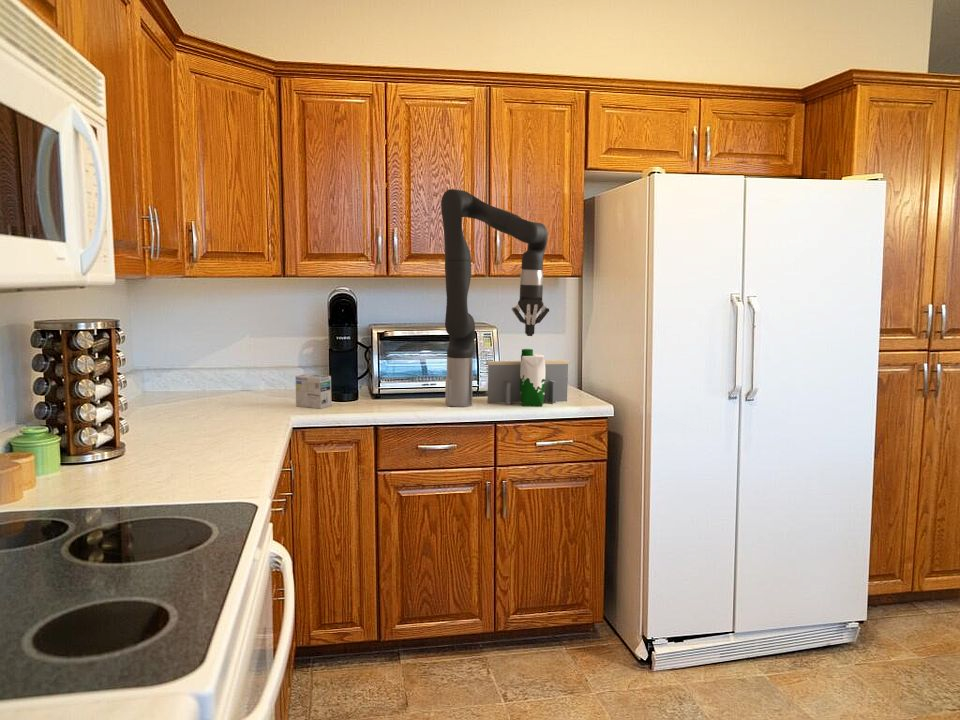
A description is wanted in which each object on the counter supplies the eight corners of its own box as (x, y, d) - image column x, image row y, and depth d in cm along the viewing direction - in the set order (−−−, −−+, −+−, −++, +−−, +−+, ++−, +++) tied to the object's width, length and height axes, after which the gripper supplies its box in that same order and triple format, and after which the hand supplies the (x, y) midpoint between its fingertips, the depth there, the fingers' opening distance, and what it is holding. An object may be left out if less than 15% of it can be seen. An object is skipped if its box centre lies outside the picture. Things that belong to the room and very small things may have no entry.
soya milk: (519, 402, 268) (520, 348, 266) (543, 402, 268) (545, 348, 265) (519, 406, 259) (521, 350, 257) (545, 407, 259) (546, 351, 257)
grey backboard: (489, 405, 261) (490, 363, 259) (485, 401, 267) (486, 361, 265) (572, 403, 267) (573, 362, 265) (566, 399, 274) (567, 360, 272)
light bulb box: (332, 405, 256) (331, 375, 255) (321, 409, 250) (320, 378, 248) (306, 403, 260) (306, 373, 259) (295, 406, 254) (294, 375, 252)
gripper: (547, 283, 245) (545, 335, 248) (509, 282, 243) (507, 334, 245) (554, 284, 238) (551, 337, 240) (514, 283, 235) (512, 336, 238)
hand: (529, 335), depth 243 cm, fingers closed
